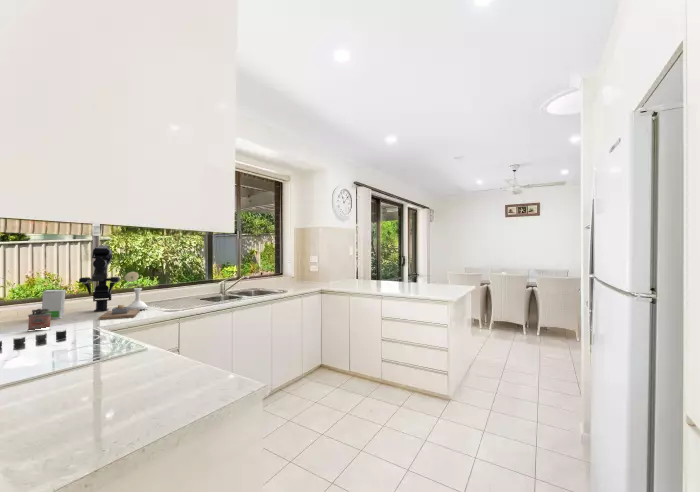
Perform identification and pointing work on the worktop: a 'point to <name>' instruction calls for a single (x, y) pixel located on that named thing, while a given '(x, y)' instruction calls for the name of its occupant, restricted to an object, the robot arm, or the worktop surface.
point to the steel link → (120, 310)
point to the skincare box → (54, 302)
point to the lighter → (39, 319)
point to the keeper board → (115, 316)
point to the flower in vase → (137, 303)
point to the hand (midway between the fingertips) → (99, 294)
